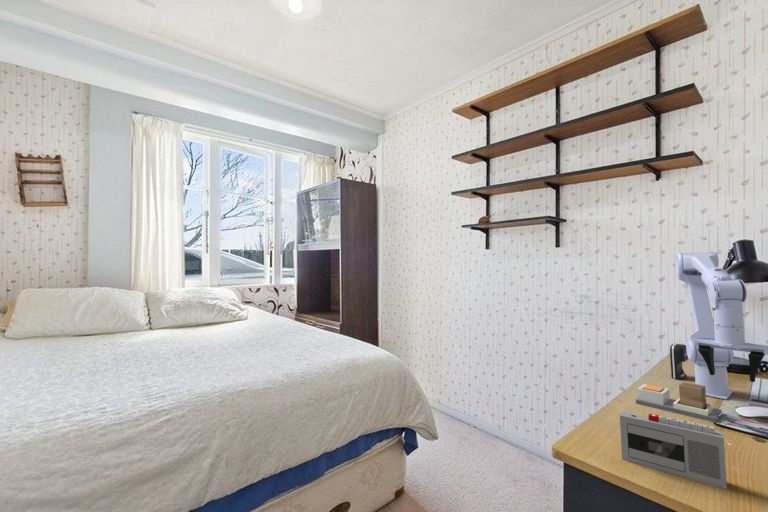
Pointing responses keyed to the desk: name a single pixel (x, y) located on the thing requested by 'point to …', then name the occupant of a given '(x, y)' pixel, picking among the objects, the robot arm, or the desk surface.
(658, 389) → the button
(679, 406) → the grey tray with holders
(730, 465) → the desk surface
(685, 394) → the block
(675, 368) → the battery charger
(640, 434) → the cassette player
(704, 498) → the desk surface
